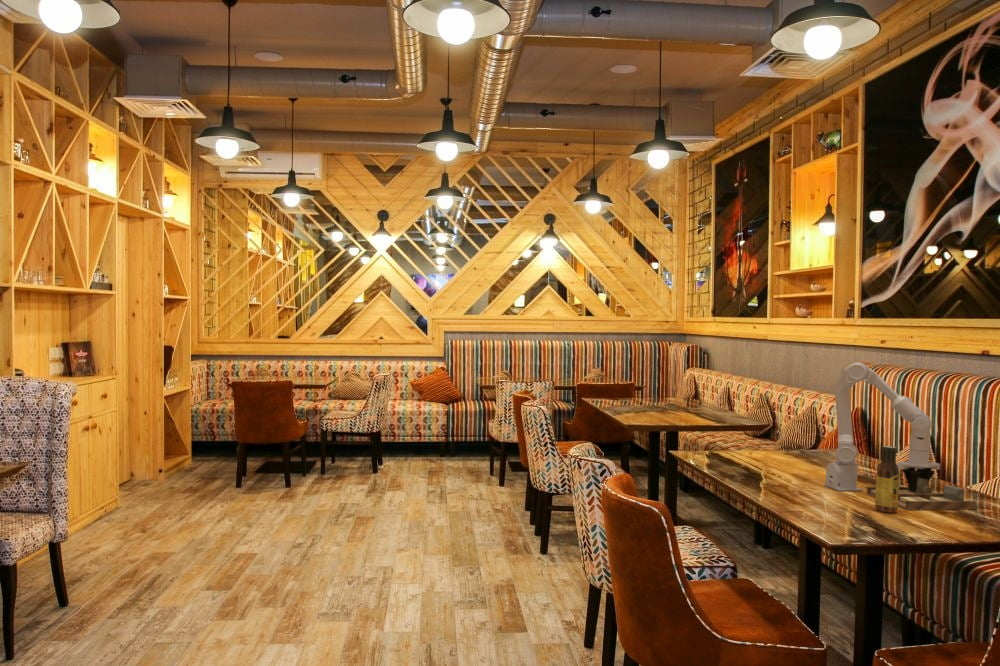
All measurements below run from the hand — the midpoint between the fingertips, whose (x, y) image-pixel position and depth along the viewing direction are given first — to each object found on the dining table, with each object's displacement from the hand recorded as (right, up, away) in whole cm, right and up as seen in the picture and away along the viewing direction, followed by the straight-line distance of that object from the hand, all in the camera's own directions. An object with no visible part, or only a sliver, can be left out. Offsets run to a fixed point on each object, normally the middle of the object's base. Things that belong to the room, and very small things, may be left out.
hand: (917, 490), depth 238 cm
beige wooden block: (-7, -2, -1) cm, 7 cm away
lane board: (-2, -3, -5) cm, 6 cm away
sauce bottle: (-20, -3, -18) cm, 27 cm away
